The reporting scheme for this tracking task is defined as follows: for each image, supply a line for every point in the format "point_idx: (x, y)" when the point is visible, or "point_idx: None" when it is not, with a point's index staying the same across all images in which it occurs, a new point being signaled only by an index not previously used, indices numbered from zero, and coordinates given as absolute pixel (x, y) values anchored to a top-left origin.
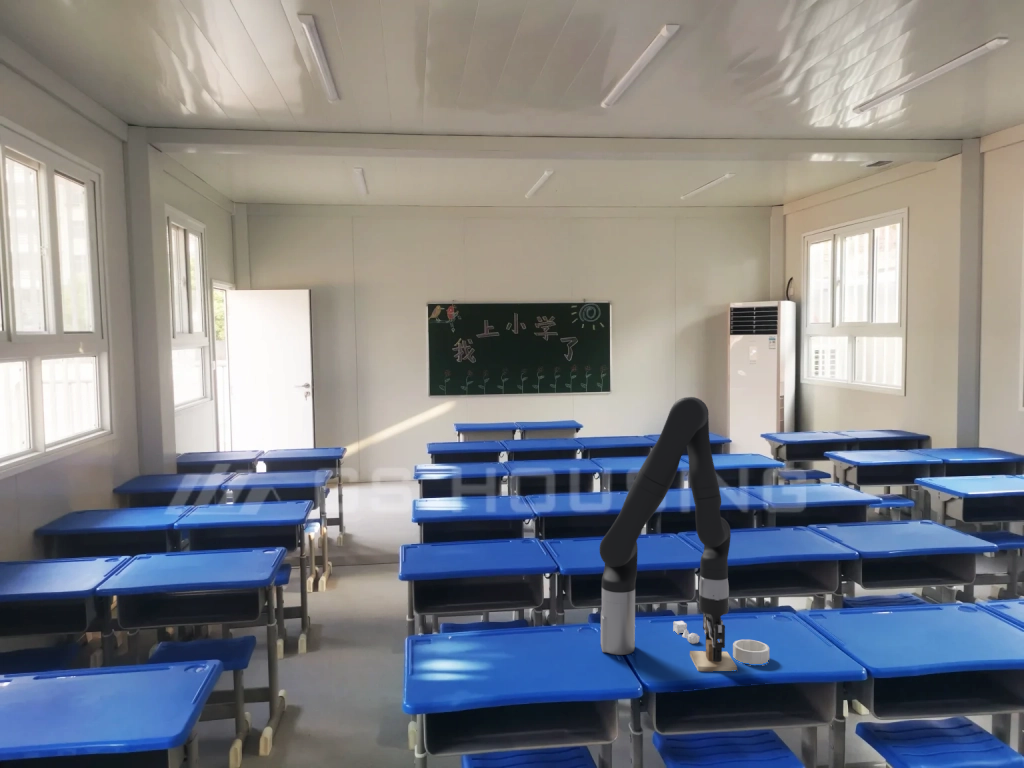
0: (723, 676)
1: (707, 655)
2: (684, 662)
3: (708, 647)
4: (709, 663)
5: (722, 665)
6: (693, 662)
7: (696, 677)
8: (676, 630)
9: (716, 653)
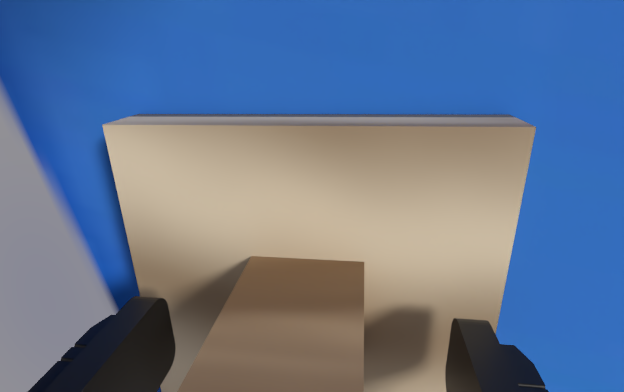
0: (119, 287)
1: (287, 279)
2: (360, 23)
3: (203, 356)
4: (195, 250)
5: (175, 336)
6: (324, 116)
7: (39, 79)
8: None
9: (50, 383)
